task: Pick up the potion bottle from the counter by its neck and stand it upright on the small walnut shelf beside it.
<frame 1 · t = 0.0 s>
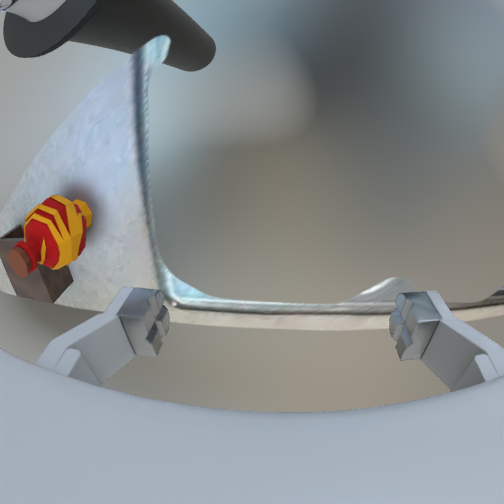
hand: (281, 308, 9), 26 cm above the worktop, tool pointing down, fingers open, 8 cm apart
shelf: (43, 252, 42), on the worktop
potion bottle: (81, 213, 38), on the worktop
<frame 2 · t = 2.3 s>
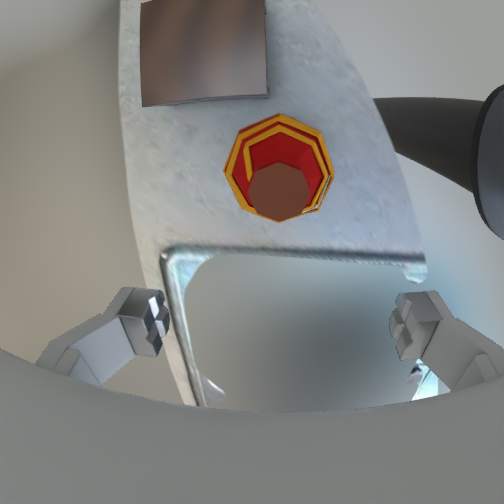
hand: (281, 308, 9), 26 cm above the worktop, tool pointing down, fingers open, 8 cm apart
shelf: (214, 53, 26), on the worktop
potion bottle: (279, 156, 31), on the worktop
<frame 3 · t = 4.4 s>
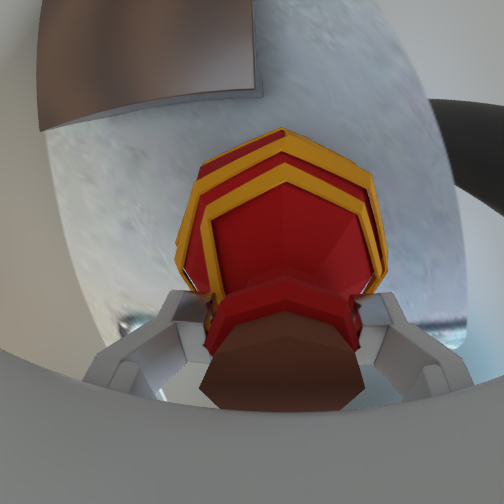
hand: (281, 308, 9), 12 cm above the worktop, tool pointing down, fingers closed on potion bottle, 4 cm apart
shelf: (171, 27, 14), on the worktop
potion bottle: (279, 197, 19), on the worktop, touching gripper
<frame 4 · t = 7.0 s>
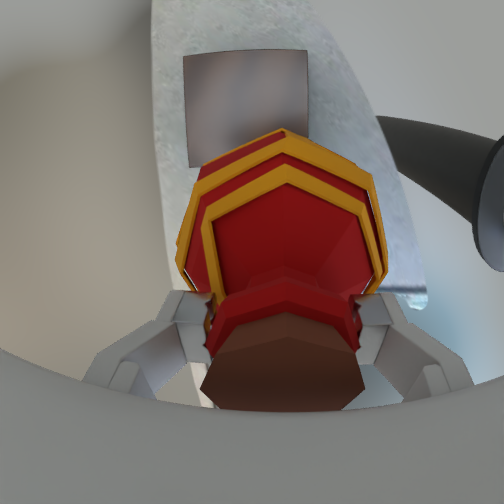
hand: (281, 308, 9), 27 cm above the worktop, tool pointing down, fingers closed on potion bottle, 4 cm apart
shelf: (251, 107, 30), on the worktop
potion bottle: (279, 197, 19), point 16 cm above the worktop, touching gripper
when the fingers open (19 cm above the worktop, at t = 10.0 s): potion bottle stays where it is, resting on shelf.
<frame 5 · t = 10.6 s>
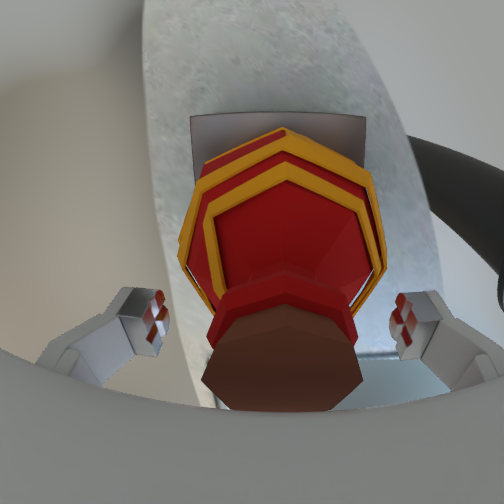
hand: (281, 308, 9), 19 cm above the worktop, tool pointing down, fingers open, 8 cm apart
shelf: (278, 174, 26), on the worktop
potion bottle: (280, 196, 20), point 7 cm above the worktop, touching shelf
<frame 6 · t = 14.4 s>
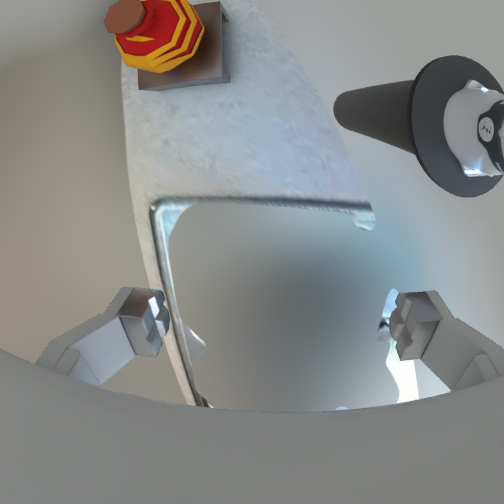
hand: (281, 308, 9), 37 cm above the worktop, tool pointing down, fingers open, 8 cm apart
shelf: (191, 52, 34), on the worktop
potion bottle: (178, 43, 29), point 7 cm above the worktop, touching shelf
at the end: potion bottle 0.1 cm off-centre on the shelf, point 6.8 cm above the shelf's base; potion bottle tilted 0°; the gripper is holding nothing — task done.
